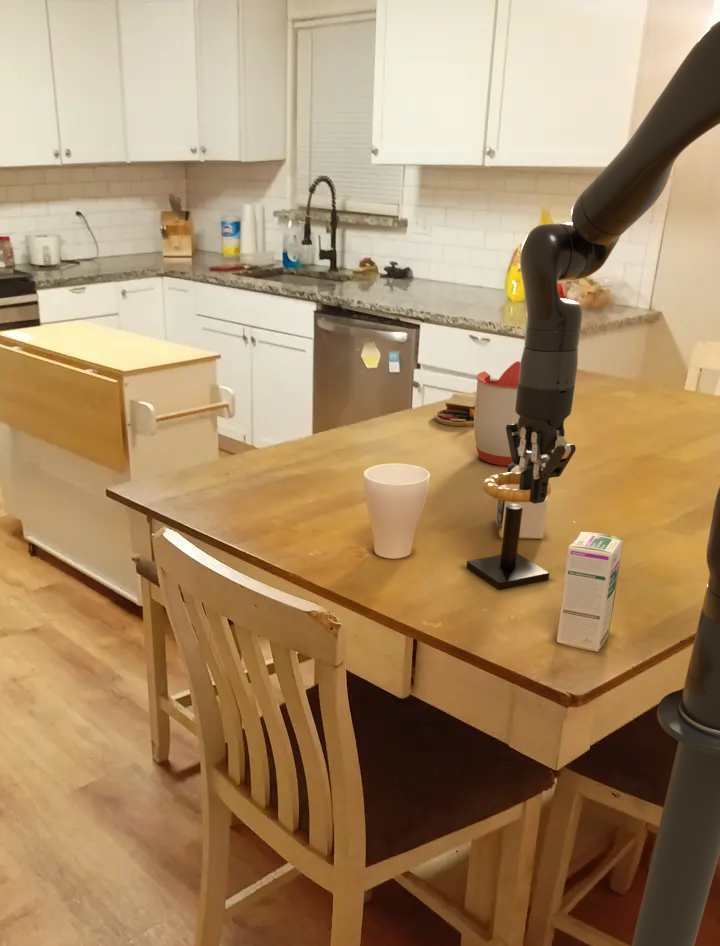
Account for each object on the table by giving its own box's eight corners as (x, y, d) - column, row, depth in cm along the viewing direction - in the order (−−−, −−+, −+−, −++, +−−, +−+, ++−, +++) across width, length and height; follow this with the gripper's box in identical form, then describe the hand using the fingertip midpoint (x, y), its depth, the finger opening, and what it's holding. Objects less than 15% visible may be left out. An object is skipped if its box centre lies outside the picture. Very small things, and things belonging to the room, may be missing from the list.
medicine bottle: (495, 522, 167) (502, 456, 161) (537, 523, 166) (545, 457, 160) (499, 538, 161) (507, 470, 155) (543, 539, 160) (552, 471, 154)
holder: (548, 579, 146) (558, 511, 141) (498, 590, 143) (506, 521, 138) (514, 558, 154) (522, 492, 148) (466, 567, 151) (472, 501, 146)
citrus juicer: (514, 441, 208) (524, 348, 198) (562, 464, 193) (575, 365, 184) (451, 450, 204) (458, 355, 194) (494, 474, 189) (505, 373, 180)
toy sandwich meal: (423, 422, 223) (424, 402, 221) (450, 409, 233) (452, 390, 230) (472, 430, 216) (474, 409, 214) (498, 416, 226) (500, 396, 223)
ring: (563, 498, 139) (564, 486, 139) (507, 507, 137) (508, 496, 136) (524, 478, 147) (525, 467, 147) (470, 487, 145) (471, 476, 144)
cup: (358, 540, 162) (360, 463, 156) (420, 539, 162) (425, 462, 155) (363, 565, 153) (366, 485, 147) (428, 564, 153) (434, 484, 146)
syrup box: (598, 653, 126) (615, 552, 119) (553, 642, 129) (568, 544, 122) (609, 635, 130) (626, 537, 123) (565, 625, 133) (580, 529, 126)
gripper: (494, 372, 135) (483, 488, 143) (555, 394, 124) (538, 519, 132) (539, 367, 137) (525, 481, 146) (602, 388, 126) (583, 511, 134)
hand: (531, 499), depth 139 cm, fingers closed on ring, 2 cm apart
